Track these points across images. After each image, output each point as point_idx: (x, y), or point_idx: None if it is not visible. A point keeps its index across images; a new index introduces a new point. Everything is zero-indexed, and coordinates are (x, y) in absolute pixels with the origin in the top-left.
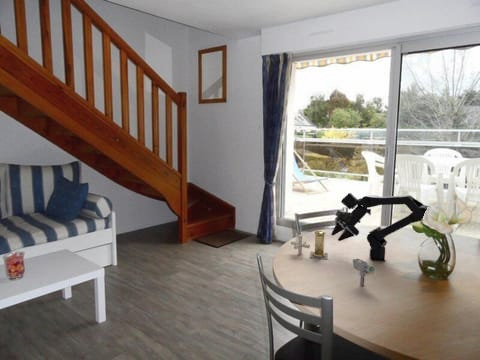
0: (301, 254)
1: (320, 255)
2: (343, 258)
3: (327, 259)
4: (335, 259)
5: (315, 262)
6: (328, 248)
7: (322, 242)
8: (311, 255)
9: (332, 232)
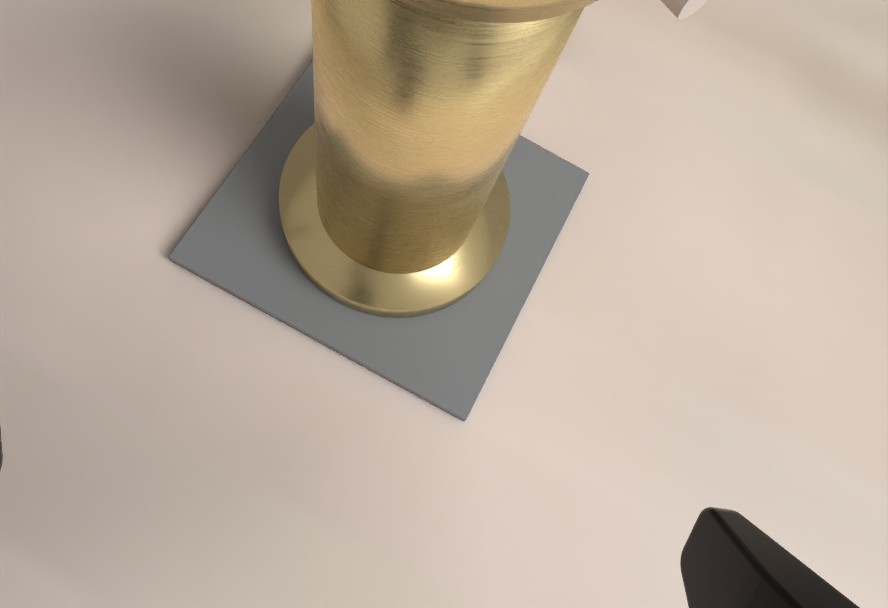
0: None
1: (303, 177)
2: (118, 603)
3: (172, 258)
4: (129, 407)
5: (130, 25)
6: None
7: (314, 61)
8: None
9: (767, 560)
